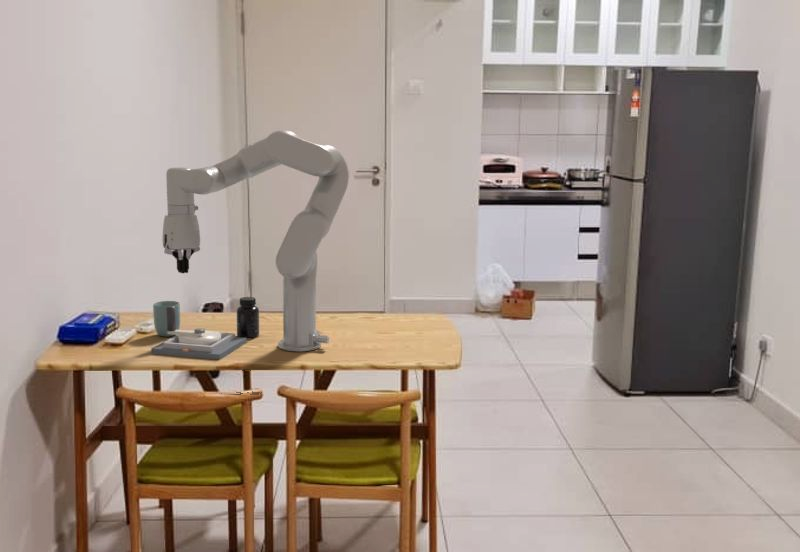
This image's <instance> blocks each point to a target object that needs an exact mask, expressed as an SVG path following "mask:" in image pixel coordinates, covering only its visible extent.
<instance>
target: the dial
mask: <svg viewBox="0 0 800 552" xmlns="http://www.w3.org/2000/svg"><path fill="white" fill-rule="evenodd" d="M166 318H167V334H173V335H174V336H177V335H179V343H184V344H196V345H207V346H211V345H213V344H214V343H216V342H218V341H219V340H221V334H220V333H219V331H215V330H206V329H205V328H199V327H198V328H195V329H193V330H194V331H189V330H190V329H188V330H187V329H179V330H177V329H176V310H175V306H167V307H166Z"/></svg>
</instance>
